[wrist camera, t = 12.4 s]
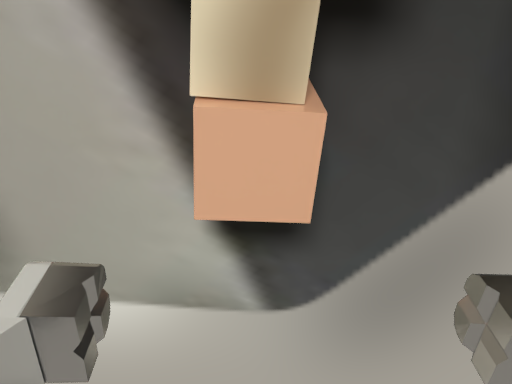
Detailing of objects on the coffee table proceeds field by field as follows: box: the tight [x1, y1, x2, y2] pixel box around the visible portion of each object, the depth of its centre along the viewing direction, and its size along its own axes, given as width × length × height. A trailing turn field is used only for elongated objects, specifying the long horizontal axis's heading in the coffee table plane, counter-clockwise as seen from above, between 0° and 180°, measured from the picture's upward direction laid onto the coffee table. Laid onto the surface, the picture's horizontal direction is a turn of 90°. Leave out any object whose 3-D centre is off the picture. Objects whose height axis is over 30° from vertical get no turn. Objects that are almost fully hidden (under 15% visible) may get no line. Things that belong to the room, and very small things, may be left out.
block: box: [193, 78, 327, 223], centre depth 17 cm, size 4×4×4 cm
